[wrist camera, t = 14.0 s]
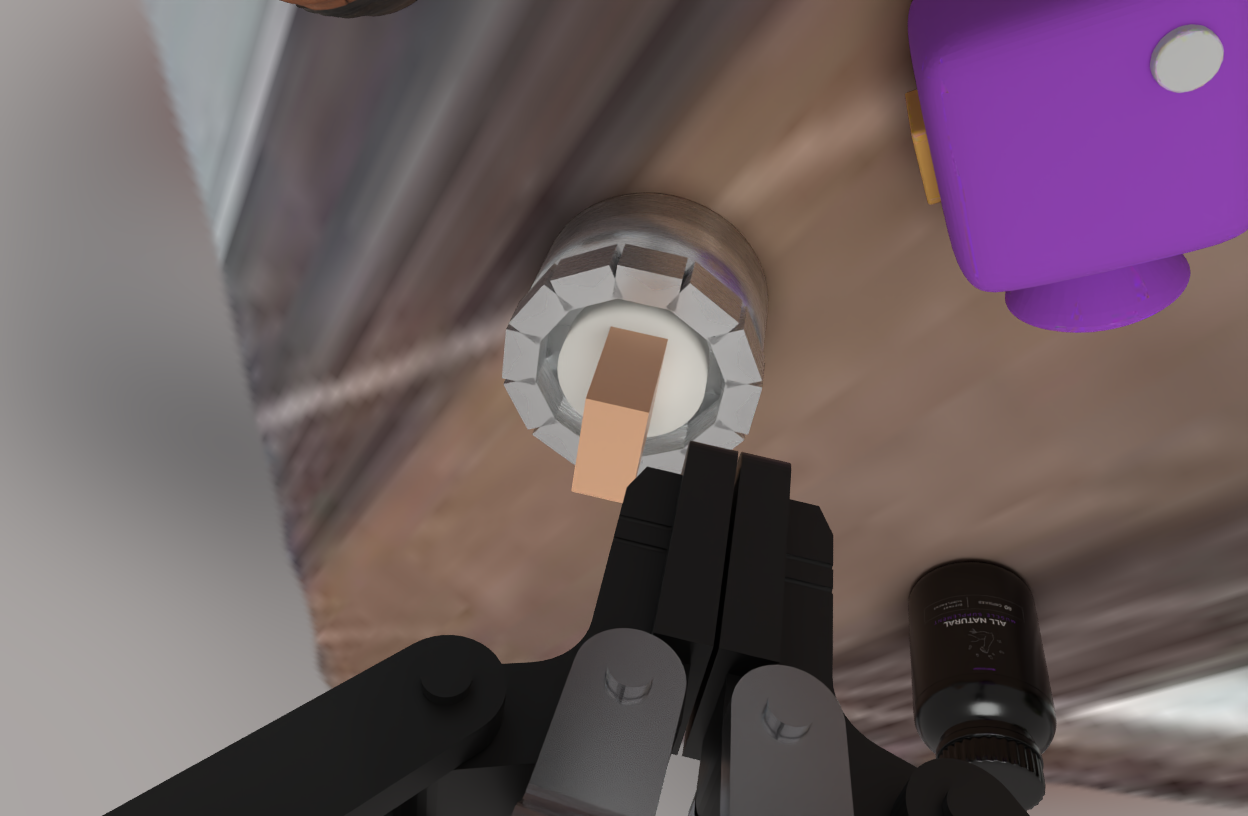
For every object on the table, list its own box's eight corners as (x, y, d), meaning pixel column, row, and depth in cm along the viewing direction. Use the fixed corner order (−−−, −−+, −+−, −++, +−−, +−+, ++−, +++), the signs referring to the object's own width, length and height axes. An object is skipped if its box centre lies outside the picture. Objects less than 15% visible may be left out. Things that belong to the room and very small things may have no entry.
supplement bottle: (981, 538, 52) (1012, 729, 42) (1058, 606, 54) (1104, 803, 44) (880, 592, 55) (889, 778, 46) (955, 653, 57) (978, 844, 48)
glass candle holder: (555, 169, 43) (513, 241, 38) (794, 222, 42) (788, 302, 37) (533, 364, 50) (496, 449, 44) (739, 411, 49) (727, 502, 44)
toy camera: (983, 287, 43) (1015, 424, 35) (853, 12, 37) (857, 103, 29) (1252, 180, 38) (1359, 312, 30) (1153, -156, 32) (1255, -101, 24)
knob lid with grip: (575, 277, 40) (535, 369, 35) (724, 310, 40) (706, 408, 35) (559, 395, 44) (521, 493, 39) (694, 426, 44) (675, 530, 39)
